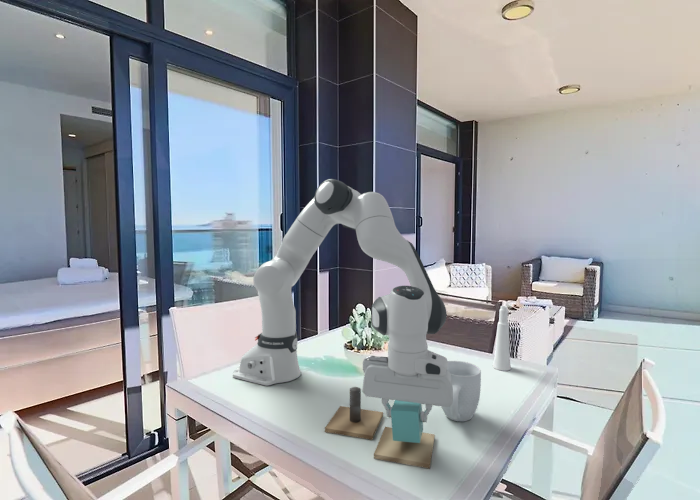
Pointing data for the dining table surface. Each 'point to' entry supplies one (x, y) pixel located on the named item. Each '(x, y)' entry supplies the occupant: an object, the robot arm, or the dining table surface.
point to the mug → (463, 390)
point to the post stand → (355, 419)
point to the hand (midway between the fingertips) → (406, 418)
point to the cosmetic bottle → (502, 342)
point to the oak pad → (405, 449)
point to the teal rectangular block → (406, 421)
